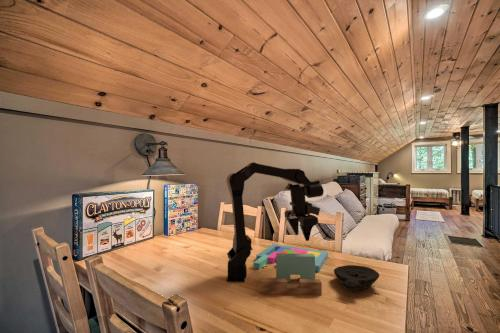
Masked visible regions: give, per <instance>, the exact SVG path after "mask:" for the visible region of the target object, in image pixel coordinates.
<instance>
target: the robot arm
mask: <svg viewBox="0 0 500 333" xmlns="http://www.w3.org/2000/svg"><path fill="white" fill-rule="evenodd" d="M255 174H259V175H264V176H268V177H269V176H270V177H276V178H280V179H282V180H284V181H287V182H289V183H288V184H287V186H285V187H284V190H288V191H289V192H290V193H289V194H290V200H291V201H289V205H290V206H291V209H287V210H285V211H284V213H283V214H284V218H285V220H286V221H287V222H288V224H289V226H290V227H291V229H292V231H293V233H294V235H295V236H298V235H299V229H300V230H301V232H302V235H303V237H304V240H305V241H306V242H308V241H309V240H310V237H311V232H312V230H313V227H314V226H317V224H318V225H319V218H318V216H319V214H320V210H321V208H320V207H318V206H313V203H311V202H308V201H306V200H307V199H306V198H308V199H314V198H320V197H323V195H324V187H323V185H322V184H321V182H320V180H319V179H318V180H313V181H312V180H310V179H309V178H308V177H307V175H306V173H305V171H304V169H302V168H282V167H277V166H276V167H275V166H272V165H265V164H261V163H257V162H254V161H253V162H249V163H248V164H247V165H245V166H244V167H242V168H241V169H239V170H238V171H236V172H232V173H229V174H228V175H227V177H226V181H225V182H226V185H227V188H228V191H229V194H230V197H231V198H230V199H231V205H232V206H231V207H232V208H231V209H232V218H233V230H234V234H233V239H232V247H231V248H230V249H229V251H228V252H227V254H226V255H227V258H228V261H227V277H226V282H228V283H229V282H231V283H232V282H233V283H234V282H235V283H237V282H239V283H240V282H241V283H244V282H245V281H246V279H247V276H248V275H247V259H249V257H250V256H251V254H252V251H253V248H252V238H251V237H250V236H249V234H246V224H245V214H244V213H245V212H244V211H245V210H244V203H243V195H244V189H245V183H246V181H247V180H249V179H250V178H251V177H252V176H253V175H255ZM292 183H293V184H292Z"/></svg>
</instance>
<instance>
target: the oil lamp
mask: <svg viewBox="0 0 500 333" xmlns="http://www.w3.org/2000/svg"><path fill="white" fill-rule="evenodd" d="M333 273H334V275H335V277H336V278H337V279H338V280H339V281H340V282H341V283H340V285H341V286H342V287H343V288H345V289H347V291H351V292H355V291H359V290H364V289H367V288H369V287H372V285H374V283H375V282H377V280H378V278H379V277H380V273H379V272H378V271H377V270H375V269H373V268H371V267H368V266H361V265H354V264H353V265H352V264H347V265H341V266H337V267H335V268H334V269H333Z"/></svg>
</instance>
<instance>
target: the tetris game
mask: <svg viewBox="0 0 500 333" xmlns="http://www.w3.org/2000/svg"><path fill="white" fill-rule="evenodd" d="M276 253H286V254H314V256H315V273H316V272H318V273H320V271H321V270H322V268H323V267H324V264H325V263H326V261H327V260H328V257H329V251H326V250H318V249H311V248H304V247H296V246H291V245H283V244H275V243H272V244H271V245H269V246H268V247H266V248H265V249H263V250H262V251H261V252H259V253H258V254H256V256H255V258H256V259H255V261H253V266H252V267H253V269H256V270H260V269H262V268H264V266H265V265H267V264H269V263H270V264H274V265H275V264H276Z"/></svg>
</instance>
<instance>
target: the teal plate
mask: <svg viewBox="0 0 500 333" xmlns="http://www.w3.org/2000/svg"><path fill="white" fill-rule="evenodd" d="M275 272H276V273H275V277H276V278H275V279H286V280H287V282H290V281H291V276H292V275H293V276H299V279H316V271H315V256H314V254H286V253H276V262H275Z"/></svg>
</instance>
